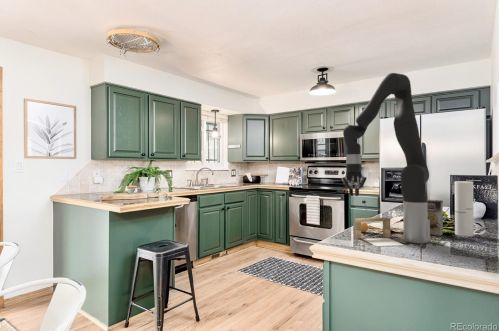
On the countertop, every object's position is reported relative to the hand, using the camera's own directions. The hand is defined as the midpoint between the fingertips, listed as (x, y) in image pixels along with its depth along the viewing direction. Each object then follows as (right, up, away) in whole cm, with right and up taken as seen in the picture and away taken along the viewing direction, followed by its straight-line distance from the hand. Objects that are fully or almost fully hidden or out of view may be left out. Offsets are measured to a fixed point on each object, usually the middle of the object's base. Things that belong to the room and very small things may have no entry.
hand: (353, 195), depth 159 cm
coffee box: (+33, -17, -13) cm, 39 cm away
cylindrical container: (+46, -17, -17) cm, 52 cm away
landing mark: (+2, -17, -29) cm, 34 cm away
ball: (+1, -15, -9) cm, 17 cm away
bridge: (+1, -17, -20) cm, 27 cm away
